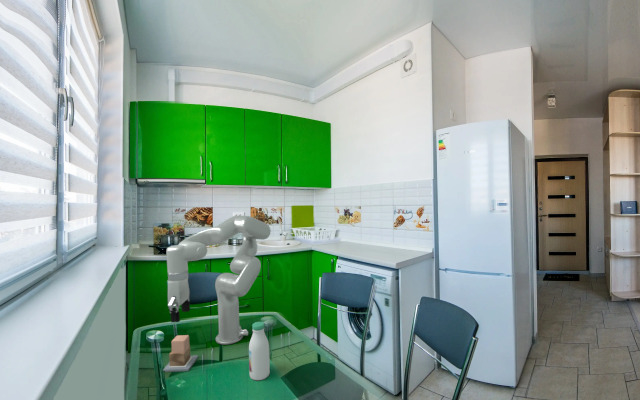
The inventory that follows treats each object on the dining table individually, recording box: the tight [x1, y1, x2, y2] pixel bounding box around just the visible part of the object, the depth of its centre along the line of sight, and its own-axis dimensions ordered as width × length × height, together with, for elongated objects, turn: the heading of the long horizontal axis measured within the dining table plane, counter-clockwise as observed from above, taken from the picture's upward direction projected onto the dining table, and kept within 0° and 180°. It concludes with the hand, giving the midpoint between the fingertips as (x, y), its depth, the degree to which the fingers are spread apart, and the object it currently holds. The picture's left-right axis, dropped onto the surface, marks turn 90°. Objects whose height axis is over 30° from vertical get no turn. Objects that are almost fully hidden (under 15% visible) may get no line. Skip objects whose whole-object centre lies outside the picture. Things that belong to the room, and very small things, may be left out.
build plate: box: [162, 354, 199, 372], centre depth 126 cm, size 10×10×1 cm
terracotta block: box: [171, 334, 190, 354], centre depth 125 cm, size 5×5×5 cm
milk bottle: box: [248, 321, 271, 381], centre depth 117 cm, size 8×8×20 cm
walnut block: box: [168, 345, 192, 366], centre depth 126 cm, size 6×6×5 cm
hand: (180, 316), depth 126 cm, fingers open, 9 cm apart
